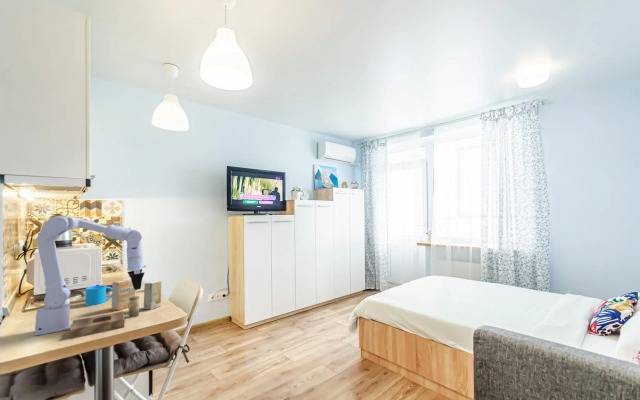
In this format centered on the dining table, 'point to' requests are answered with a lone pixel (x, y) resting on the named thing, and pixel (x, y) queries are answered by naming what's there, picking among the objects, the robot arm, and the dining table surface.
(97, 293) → the mug
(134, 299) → the pin
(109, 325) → the socket board
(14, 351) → the dining table surface
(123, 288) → the supplement box
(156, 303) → the skincare box
